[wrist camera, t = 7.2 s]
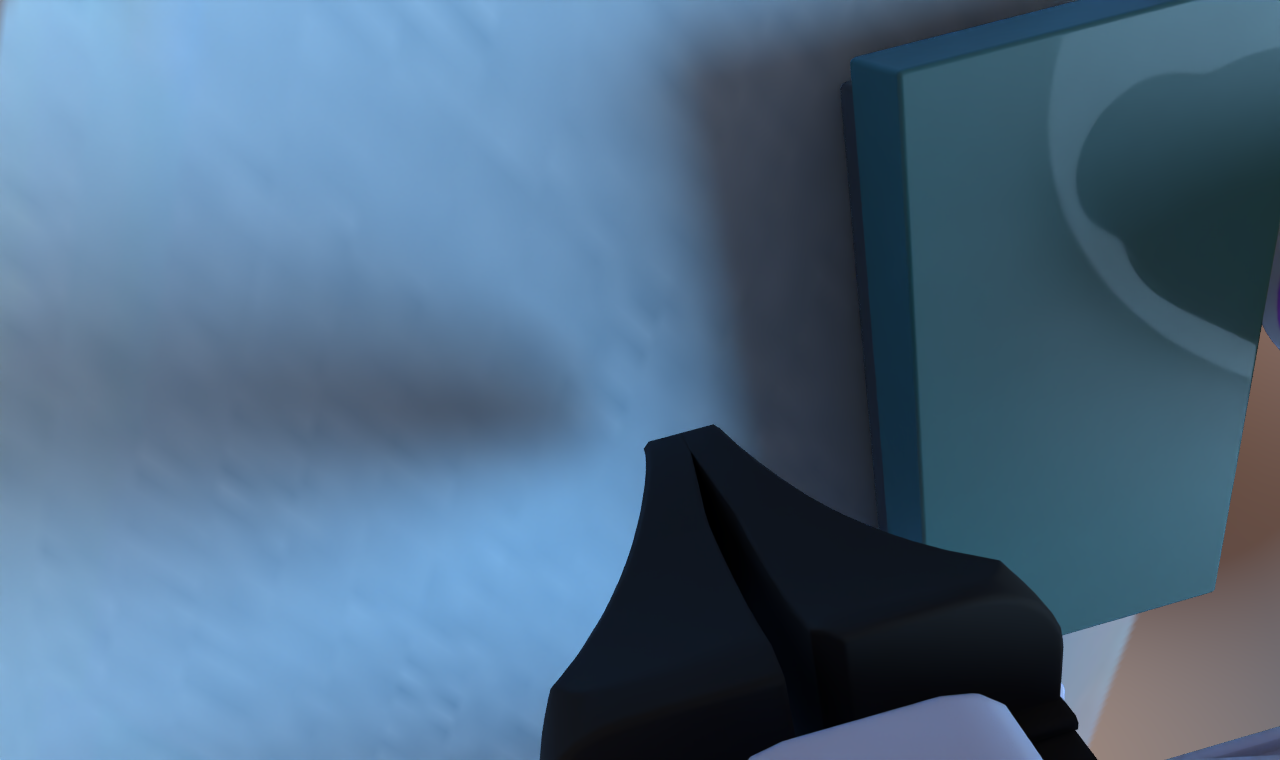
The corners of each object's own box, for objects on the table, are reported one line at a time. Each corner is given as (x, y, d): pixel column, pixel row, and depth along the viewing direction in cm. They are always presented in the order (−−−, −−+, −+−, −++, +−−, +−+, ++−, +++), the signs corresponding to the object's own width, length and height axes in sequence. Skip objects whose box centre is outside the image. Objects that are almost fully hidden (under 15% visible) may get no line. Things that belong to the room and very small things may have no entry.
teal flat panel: (1121, 510, 20) (1215, 592, 18) (872, 581, 20) (930, 675, 17) (1174, -39, 14) (1330, -40, 12) (820, 50, 14) (897, 71, 11)
